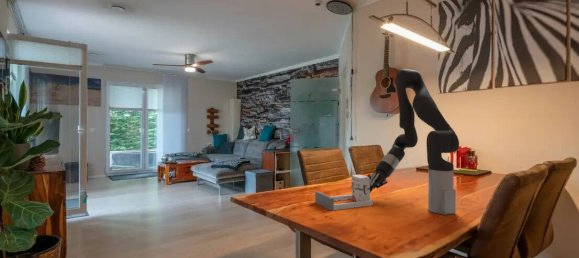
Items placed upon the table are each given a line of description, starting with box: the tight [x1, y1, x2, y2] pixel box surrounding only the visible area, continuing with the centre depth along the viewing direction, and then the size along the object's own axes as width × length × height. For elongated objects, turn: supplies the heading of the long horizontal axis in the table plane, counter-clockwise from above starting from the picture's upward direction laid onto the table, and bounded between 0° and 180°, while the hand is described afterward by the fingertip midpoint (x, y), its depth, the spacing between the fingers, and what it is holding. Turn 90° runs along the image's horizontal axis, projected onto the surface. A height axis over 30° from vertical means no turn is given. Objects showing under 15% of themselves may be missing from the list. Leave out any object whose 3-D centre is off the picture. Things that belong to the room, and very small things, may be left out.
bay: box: [314, 190, 374, 211], centre depth 135 cm, size 14×22×5 cm, turn 112°
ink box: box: [351, 174, 371, 202], centre depth 139 cm, size 9×5×12 cm, turn 18°
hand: (366, 192), depth 140 cm, fingers closed
